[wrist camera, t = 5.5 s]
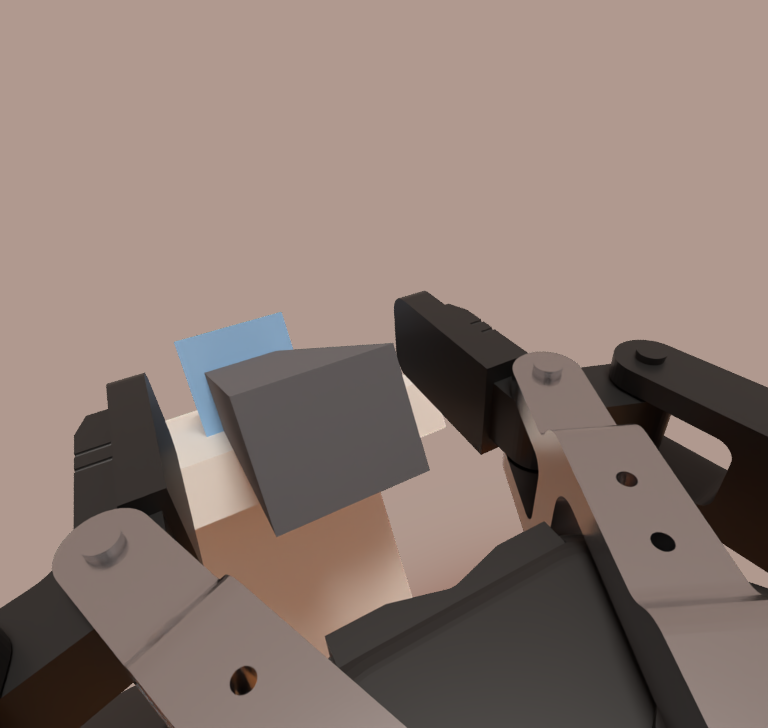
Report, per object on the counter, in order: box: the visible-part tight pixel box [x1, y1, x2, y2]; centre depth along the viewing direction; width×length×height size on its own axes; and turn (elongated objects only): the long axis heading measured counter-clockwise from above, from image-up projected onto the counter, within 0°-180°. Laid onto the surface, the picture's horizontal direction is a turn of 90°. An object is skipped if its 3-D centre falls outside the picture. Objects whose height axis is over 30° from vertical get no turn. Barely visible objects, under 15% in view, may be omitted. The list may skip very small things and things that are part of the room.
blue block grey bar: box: [174, 312, 430, 537], centre depth 17 cm, size 18×4×4 cm, turn 22°
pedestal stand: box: [165, 375, 446, 658], centre depth 27 cm, size 18×14×32 cm
